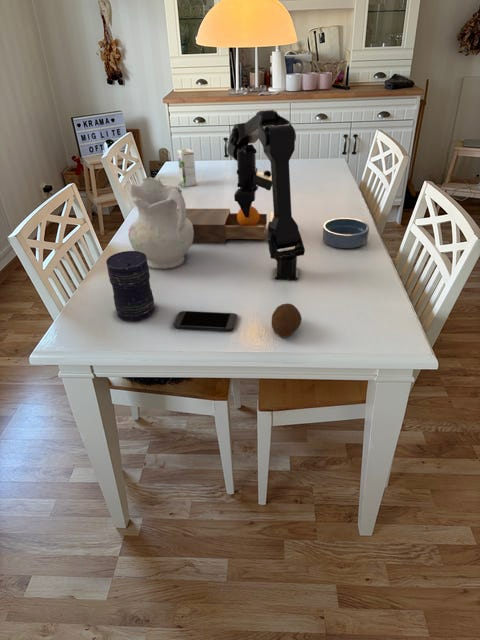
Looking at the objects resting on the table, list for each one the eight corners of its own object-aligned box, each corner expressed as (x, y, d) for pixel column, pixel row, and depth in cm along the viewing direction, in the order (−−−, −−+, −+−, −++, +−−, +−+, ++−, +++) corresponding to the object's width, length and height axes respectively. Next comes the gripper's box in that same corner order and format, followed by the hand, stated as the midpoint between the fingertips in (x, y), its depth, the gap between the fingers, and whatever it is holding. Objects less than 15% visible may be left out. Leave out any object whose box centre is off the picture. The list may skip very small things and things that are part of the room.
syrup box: (180, 183, 214) (176, 150, 206) (192, 181, 216) (189, 148, 208) (184, 187, 210) (180, 152, 202) (197, 184, 212) (194, 150, 204)
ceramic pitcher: (214, 260, 151) (211, 179, 139) (176, 282, 136) (169, 194, 124) (159, 247, 160) (152, 171, 148) (118, 267, 146) (107, 184, 134)
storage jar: (114, 306, 127) (103, 255, 119) (150, 298, 130) (142, 247, 122) (120, 325, 120) (108, 272, 111) (158, 316, 122) (150, 263, 114)
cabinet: (231, 226, 170) (230, 208, 167) (225, 243, 158) (224, 224, 155) (179, 226, 172) (177, 208, 169) (170, 243, 160) (167, 224, 157)
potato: (301, 318, 119) (302, 293, 115) (301, 342, 110) (302, 317, 107) (273, 317, 120) (273, 292, 116) (270, 341, 111) (270, 316, 108)
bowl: (369, 250, 150) (371, 235, 147) (323, 249, 151) (324, 235, 149) (365, 232, 161) (366, 218, 159) (322, 232, 163) (322, 217, 160)
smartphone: (179, 312, 123) (179, 309, 123) (237, 315, 121) (237, 312, 121) (172, 329, 117) (171, 325, 117) (233, 332, 115) (233, 329, 115)
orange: (258, 232, 158) (258, 210, 154) (236, 231, 159) (235, 210, 155) (260, 223, 165) (260, 202, 161) (238, 223, 166) (237, 202, 161)
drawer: (286, 225, 167) (286, 211, 164) (285, 241, 156) (285, 227, 153) (224, 224, 170) (223, 211, 167) (218, 240, 158) (217, 226, 156)
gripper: (270, 174, 142) (270, 224, 151) (274, 157, 158) (274, 203, 166) (233, 174, 143) (235, 224, 152) (240, 157, 159) (241, 203, 167)
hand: (248, 213), depth 159 cm, fingers closed on orange, 7 cm apart
